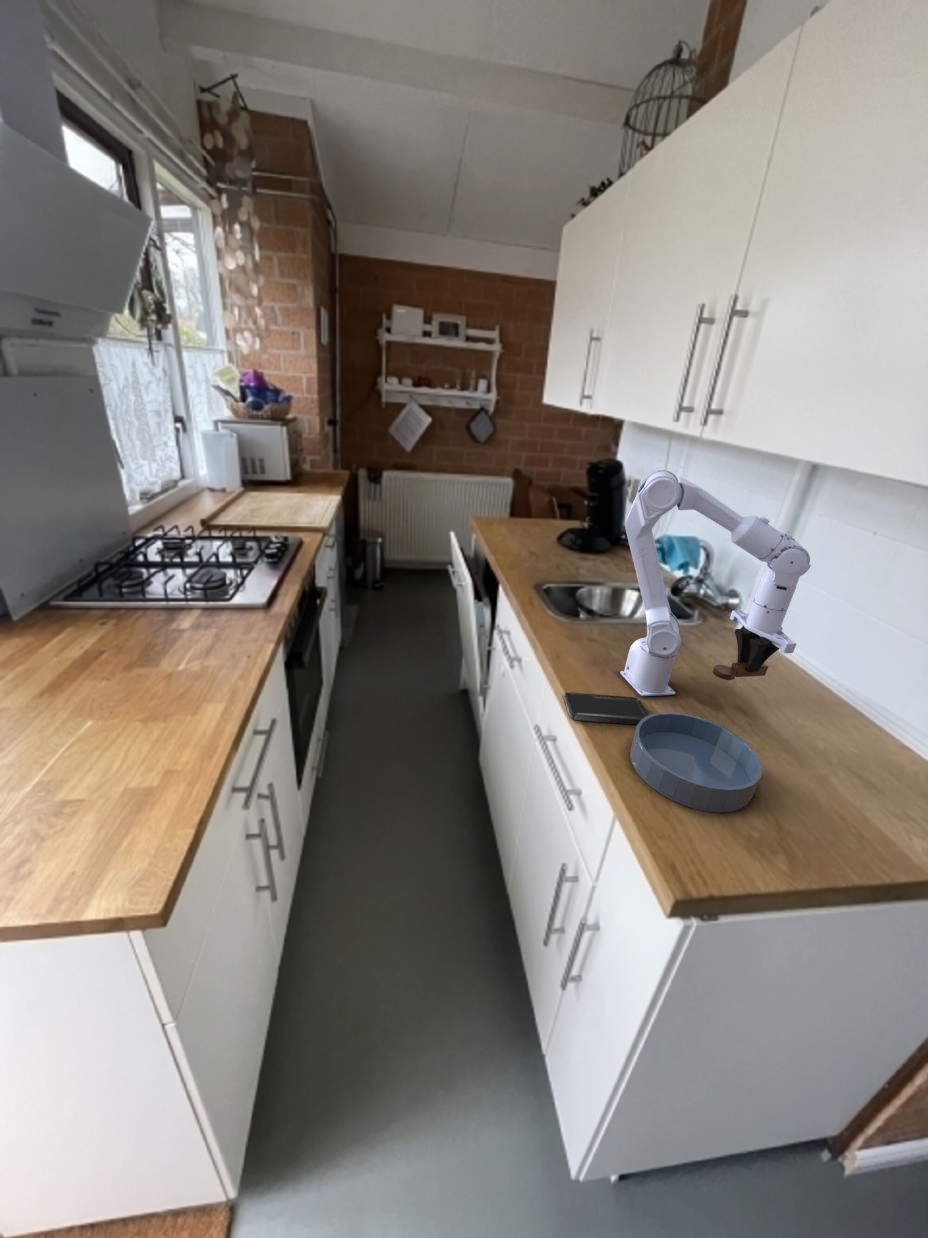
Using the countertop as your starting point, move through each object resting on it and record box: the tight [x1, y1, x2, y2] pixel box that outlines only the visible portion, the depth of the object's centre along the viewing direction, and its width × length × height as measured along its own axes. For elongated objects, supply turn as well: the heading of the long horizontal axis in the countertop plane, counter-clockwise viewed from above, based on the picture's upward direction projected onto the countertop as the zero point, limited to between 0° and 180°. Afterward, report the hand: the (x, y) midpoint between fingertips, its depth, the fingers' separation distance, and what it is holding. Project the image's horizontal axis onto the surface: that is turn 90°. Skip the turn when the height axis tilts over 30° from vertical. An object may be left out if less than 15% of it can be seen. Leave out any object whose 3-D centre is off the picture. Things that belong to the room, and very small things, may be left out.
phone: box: [563, 691, 650, 726], centre depth 98 cm, size 8×1×15 cm
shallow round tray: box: [629, 711, 764, 814], centre depth 84 cm, size 19×19×4 cm
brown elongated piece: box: [712, 661, 769, 681], centre depth 100 cm, size 11×4×2 cm, turn 102°
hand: (747, 668), depth 100 cm, fingers closed on brown elongated piece, 2 cm apart
